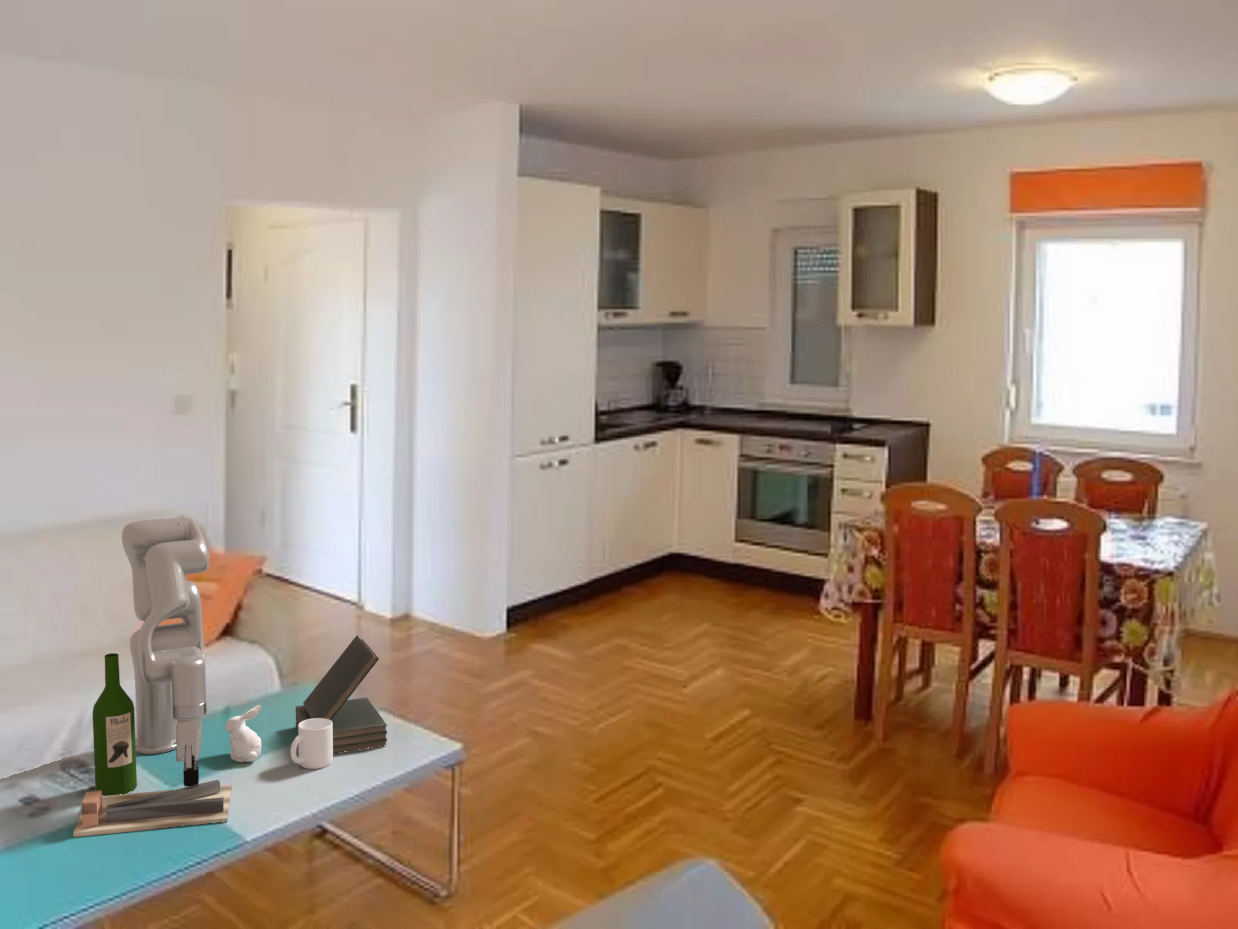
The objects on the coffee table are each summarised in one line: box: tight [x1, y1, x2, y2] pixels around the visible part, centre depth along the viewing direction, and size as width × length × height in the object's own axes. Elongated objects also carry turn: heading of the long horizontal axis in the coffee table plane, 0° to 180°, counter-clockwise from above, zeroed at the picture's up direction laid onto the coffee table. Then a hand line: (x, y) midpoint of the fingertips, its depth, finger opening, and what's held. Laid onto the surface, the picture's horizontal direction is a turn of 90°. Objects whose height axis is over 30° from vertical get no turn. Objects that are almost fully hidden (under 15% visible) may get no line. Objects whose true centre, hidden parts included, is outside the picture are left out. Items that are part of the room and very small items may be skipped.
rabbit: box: [224, 704, 262, 763], centre depth 279 cm, size 12×9×12 cm
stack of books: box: [295, 635, 388, 755], centre depth 293 cm, size 23×20×25 cm
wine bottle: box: [92, 652, 138, 796], centre depth 257 cm, size 9×9×32 cm
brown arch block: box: [81, 790, 103, 827], centre depth 240 cm, size 6×3×5 cm, turn 16°
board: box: [72, 784, 233, 838], centre depth 248 cm, size 18×31×4 cm, turn 106°
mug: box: [289, 718, 334, 770], centre depth 275 cm, size 12×8×10 cm
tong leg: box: [107, 779, 221, 808], centre depth 249 cm, size 24×2×2 cm, turn 128°
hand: (191, 784), depth 259 cm, fingers closed
